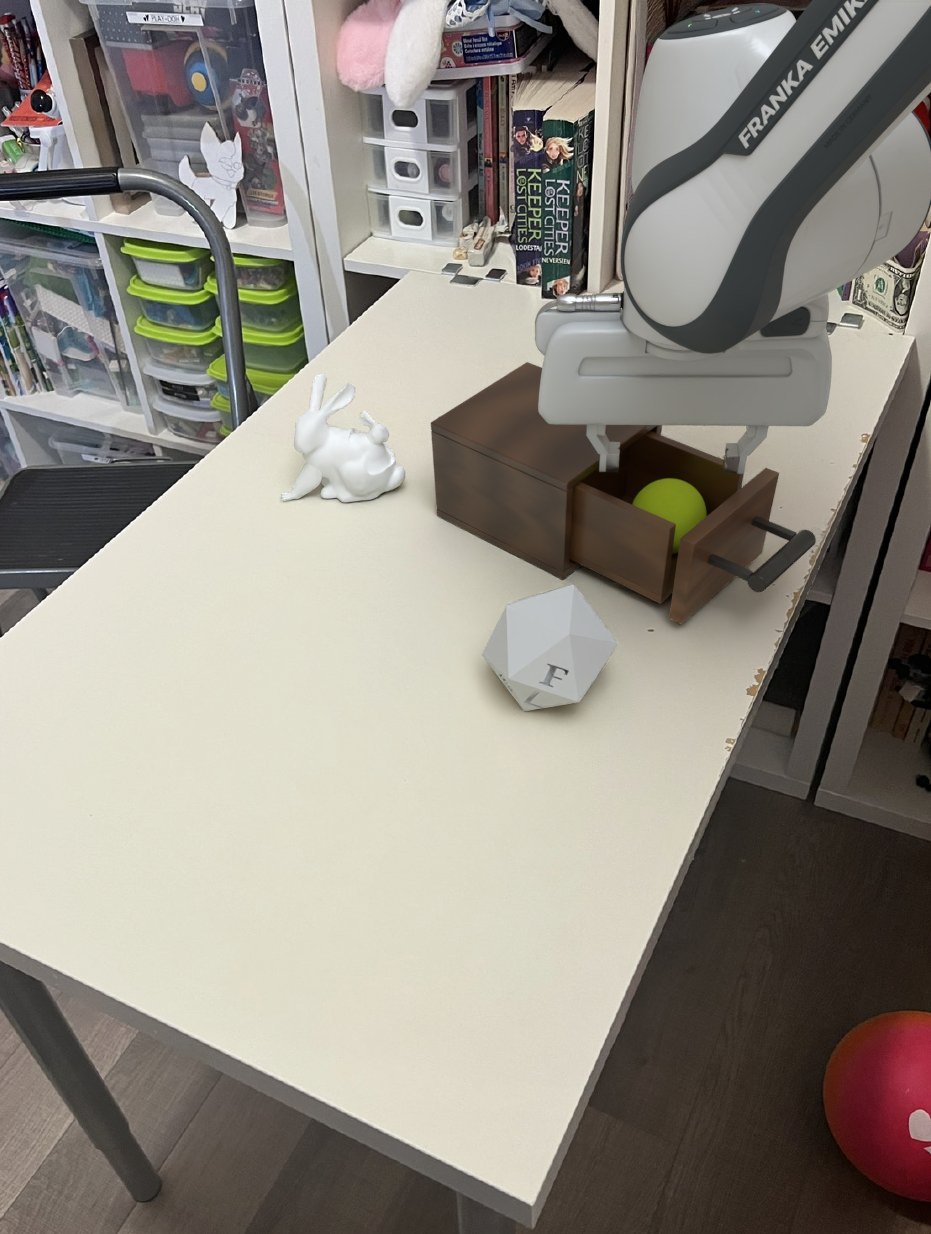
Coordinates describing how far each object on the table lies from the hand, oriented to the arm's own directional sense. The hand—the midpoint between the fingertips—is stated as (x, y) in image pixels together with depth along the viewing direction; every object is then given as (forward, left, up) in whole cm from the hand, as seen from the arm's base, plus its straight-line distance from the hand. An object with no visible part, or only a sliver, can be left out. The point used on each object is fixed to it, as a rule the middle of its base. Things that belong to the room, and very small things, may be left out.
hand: (670, 468), depth 79 cm
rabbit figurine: (+29, -11, -10) cm, 33 cm away
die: (+8, +15, -10) cm, 20 cm away
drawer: (-1, +1, -9) cm, 9 cm away
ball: (0, 0, -5) cm, 5 cm away
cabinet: (+10, -7, -10) cm, 16 cm away
